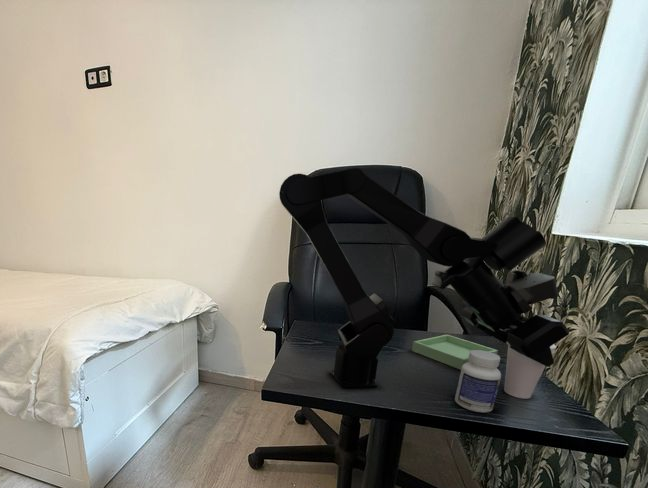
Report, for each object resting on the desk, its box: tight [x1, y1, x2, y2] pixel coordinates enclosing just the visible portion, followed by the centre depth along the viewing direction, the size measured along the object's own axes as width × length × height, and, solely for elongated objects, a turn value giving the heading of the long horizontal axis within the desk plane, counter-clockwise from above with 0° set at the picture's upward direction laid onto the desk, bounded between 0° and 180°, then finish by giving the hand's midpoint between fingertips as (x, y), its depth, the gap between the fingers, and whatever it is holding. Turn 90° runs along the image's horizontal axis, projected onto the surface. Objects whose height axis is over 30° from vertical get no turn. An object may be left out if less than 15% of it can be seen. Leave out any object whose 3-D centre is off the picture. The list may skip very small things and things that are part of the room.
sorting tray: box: [411, 334, 499, 371], centre depth 78 cm, size 12×11×2 cm
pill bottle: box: [454, 350, 502, 414], centre depth 57 cm, size 5×5×9 cm
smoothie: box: [503, 342, 557, 400], centre depth 60 cm, size 6×6×14 cm
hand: (536, 356), depth 60 cm, fingers closed on smoothie, 6 cm apart
